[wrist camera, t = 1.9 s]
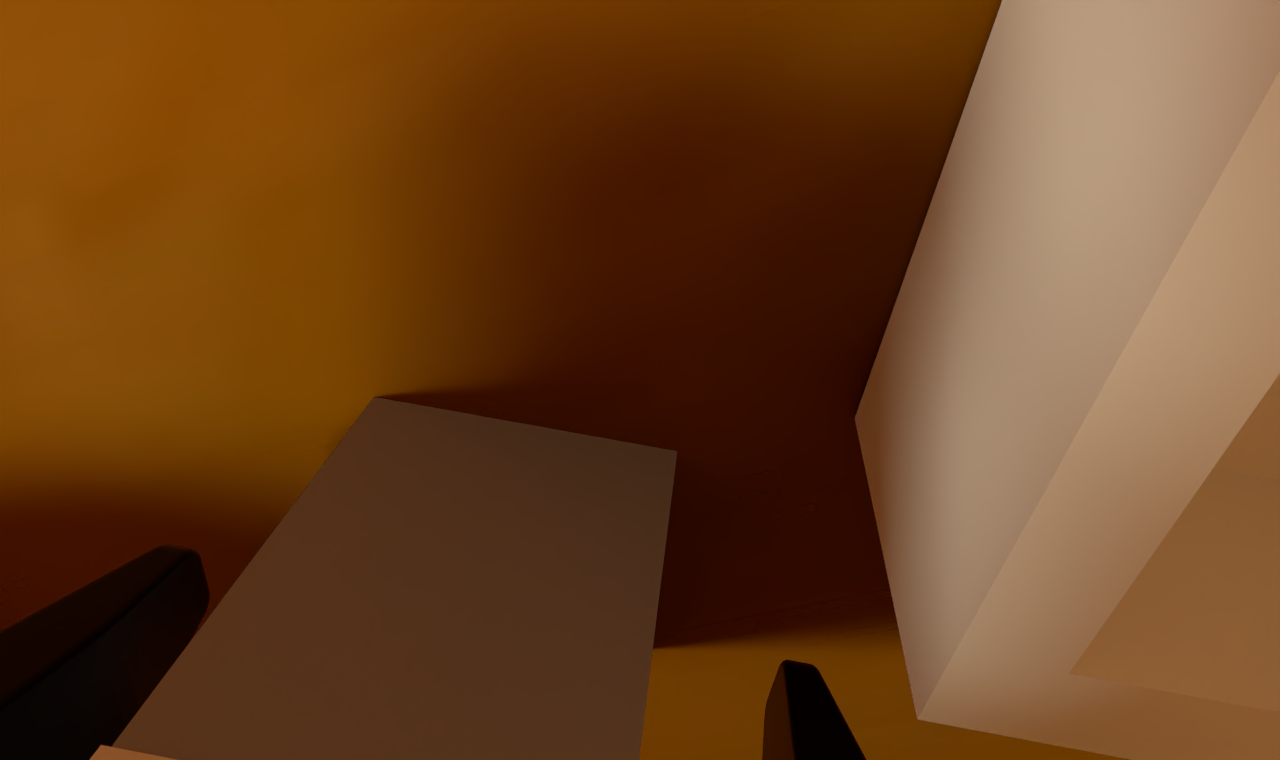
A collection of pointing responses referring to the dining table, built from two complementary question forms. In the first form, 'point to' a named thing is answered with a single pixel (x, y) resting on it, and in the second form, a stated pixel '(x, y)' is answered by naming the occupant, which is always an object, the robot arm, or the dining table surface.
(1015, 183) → the walled box
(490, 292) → the dining table surface
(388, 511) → the square block
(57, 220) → the dining table surface
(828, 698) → the robot arm
